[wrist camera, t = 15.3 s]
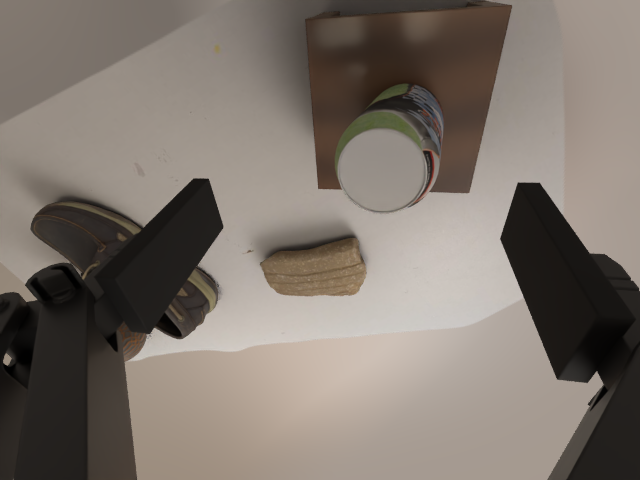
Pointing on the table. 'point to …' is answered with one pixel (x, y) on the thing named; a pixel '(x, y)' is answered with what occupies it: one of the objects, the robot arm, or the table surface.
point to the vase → (131, 341)
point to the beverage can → (392, 150)
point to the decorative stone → (317, 270)
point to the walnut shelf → (407, 76)
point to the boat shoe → (103, 238)
